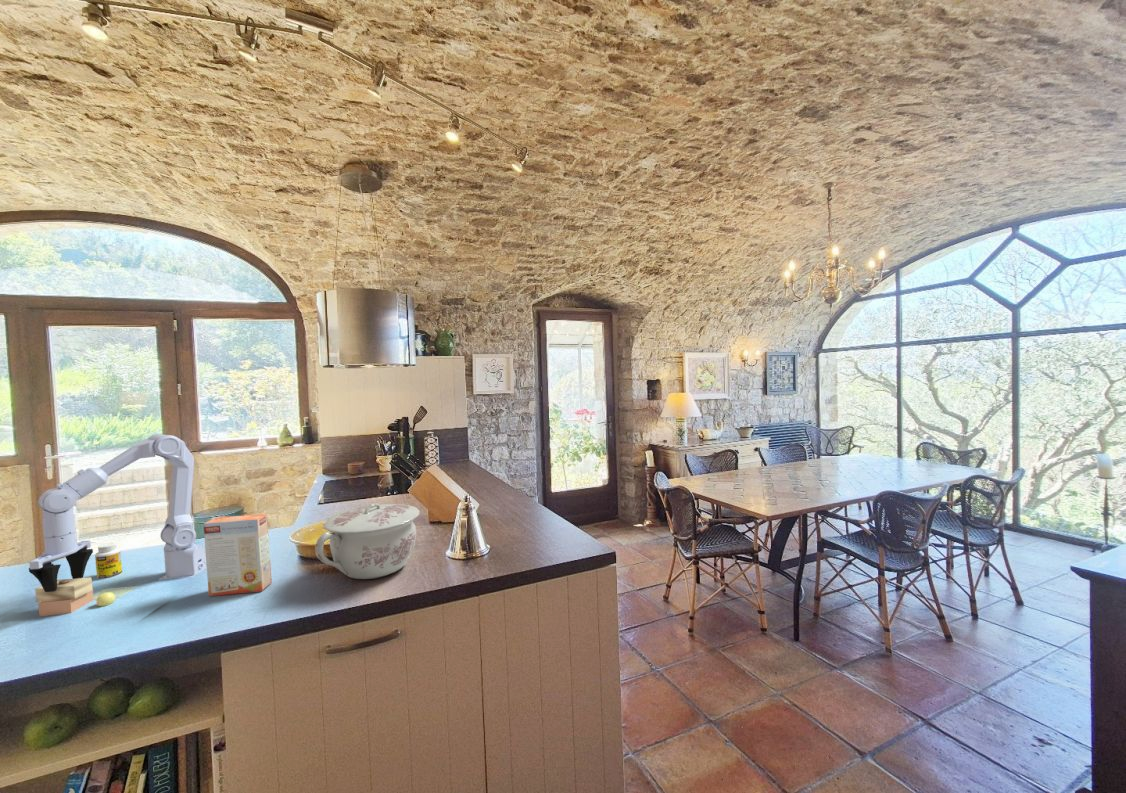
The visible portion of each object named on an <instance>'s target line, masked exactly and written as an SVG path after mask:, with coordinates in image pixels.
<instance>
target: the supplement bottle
mask: <svg viewBox="0 0 1126 793" xmlns="http://www.w3.org/2000/svg"><path fill="white" fill-rule="evenodd" d="M121 554H122V553H121V549H120V548H118V547H117V543H116V542H109V543H104V544H101V545H99V546H98V547H97V552H96V553H95V554H94V556H95V557H94V558H95V567H96V578H97V580H106V579H110V578H115V577H118V576H119V575H122V574H123V566H122V565H123V564H122V555H121Z"/></svg>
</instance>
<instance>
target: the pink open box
mask: <svg viewBox="0 0 1126 793" xmlns="http://www.w3.org/2000/svg"><path fill="white" fill-rule="evenodd" d="M92 589H93V590H92V591H90V592H88V593H86V594H84V595H82V596H80V597H78V598H76V599H68V600H55V601H42V602H37V603H38V606H37V607H38V613H39V614H38V615H39V617H46V616H54V615H65V614H72V613H73V612H76V611H77V610H79V609H81V608H83V607H85V606H87V604H90V603H91V602H92V601H94V597H93V595H94V587H92Z"/></svg>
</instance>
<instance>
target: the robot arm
mask: <svg viewBox="0 0 1126 793" xmlns="http://www.w3.org/2000/svg"><path fill="white" fill-rule="evenodd" d="M156 456H158V457H161V458H163V459H164V460H165V461H167V463H170V464H171V466H172V467H171V479H170V480H171V482H170V492H169V507H168V517H167V518H166V519H165V522H164V527H163V528H162V530H161V531H160V535H159V536H160V539H161V541H162V542H163V543H165V545H164V547H163V555H164V556H163V557H164V568H165V575H164V576H162V577H160V578H158V581H163V580H174V579H185V578H192V577H194V576H196V575H197V574H199V573H200V572H203V571H204V570H206V569H207V565H206V551H205V545H201V544H195V541H196V538H197V532H196V531H195V529H194V521H193V519H192V516H191V511H192V510H191V509H192V496H193V495H192V494H193V493H192V492H193V481H194V480H193V479H194V469H195V468H194V467H195V466H194V465H195V457H194V456H193V454H192V452H191V451H190V449H189V448H188V447H187V445H186V442H185V441H184V440H182V439H180V438H179V437H177V436H176V435H170V434H168V435H167V434H164V433H163V434H162V433H155V434H152V435H150V436H149V437H147V438H144V439H141V440H140V441H138V442H137V443H135V444H134V445H132V446H130V447H129V448H128V449H127V448H126V450H124V451H123V452H121V453H119V454H118V455H116V456H115V457H113V458H112V459H110V460H109V461H107V462H105V463H103V464H102V465H101V466H100V467H89V468H86V469H80V470H78V471H77V472H76V473H77V474H76V475H75V476H73V477H71V478H70V479H68V480H66V481H64V482H63V483H62V482H59V483H56V485H55V486H56V487H55V488H50V489H47V490H45V491H44V492H43V493H42V494H41V495H40V497H39V498H38V500H37V504H38V506H39V507H40V508H41V509H42V510H41V511H42V513H41V517H42V521H41V522H42V532H43V533H42V534H43V542H44V551H43V552H41V555H40V556H38V557H37V558H35V559H33V560H30V561H29V568H28V571H29V574H32V576H34V577H35V579H37V580H38V582H39V583H40V586H42V587H43V589H44V591H45V592H54V591H56V590H57V580H58V575H59V570H60V569H61V564H54V563H53V562H56V561H58V560H61V559H63V558H65V559H66V561H67V563H68V566H69V570H70V576H71V579H76V578H84V575H85V571H86V567H87V565H88V561H89V559H90V558H91V556H92V554H93V553H94V549H93V548H91V546H92V545H91V540H82V541H79V542H78V540H77V530H76V529H77V528H76V517H75V514H74V506H75V505H76V503H77V500H82V499H83V498H85V497H87V496H88V495H90V494H92V493H93V492H95V491H96V490H98V489H100V487H102V486H104V485H106V484H107V481H108V478H109V476H112V475H113V474H115V473H117V472H119V471H121V470H122V469H124V468H126V467H128V466H129V465H131V464H132V463H134V462H136V461H138V460H140V459H147V458H156Z"/></svg>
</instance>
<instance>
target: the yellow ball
mask: <svg viewBox="0 0 1126 793" xmlns="http://www.w3.org/2000/svg"><path fill="white" fill-rule="evenodd" d="M115 600H116V598H115V595H114V594H113V593H111V592H106V593H103V594H101V595H100V596H99V597H98V598H97V600H95V601H96V605H97V606H98V607H105V606H109V605H111V604H113V603H115Z"/></svg>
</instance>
